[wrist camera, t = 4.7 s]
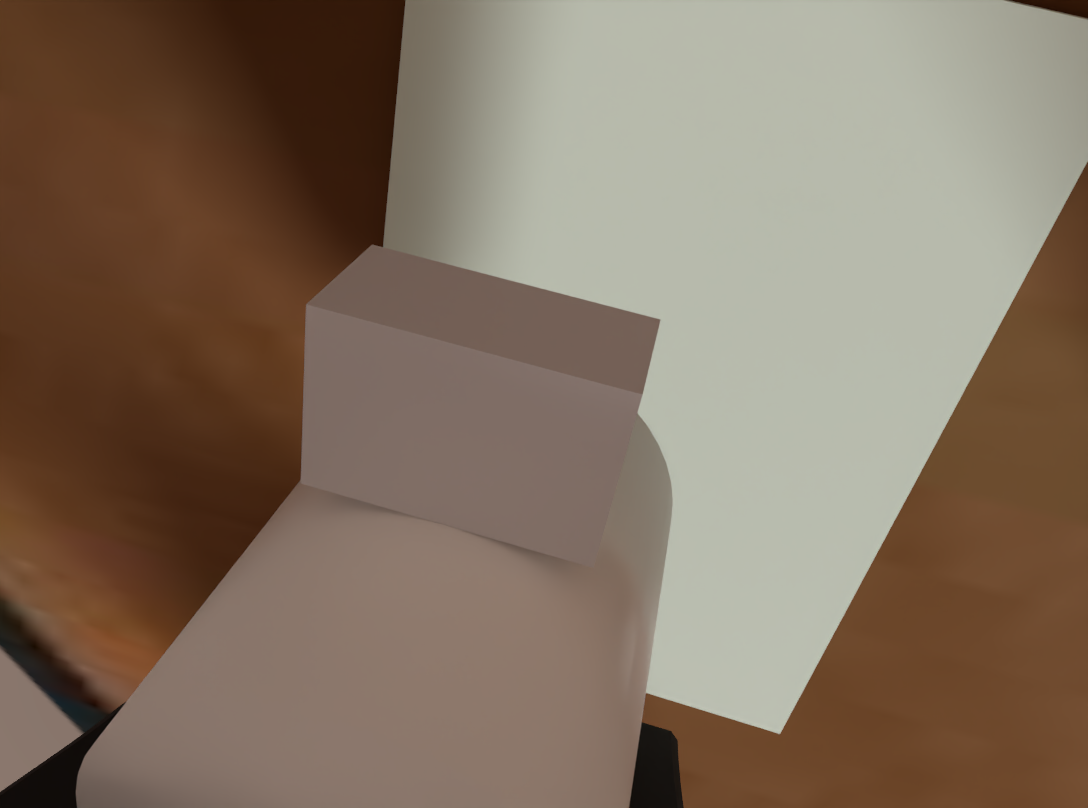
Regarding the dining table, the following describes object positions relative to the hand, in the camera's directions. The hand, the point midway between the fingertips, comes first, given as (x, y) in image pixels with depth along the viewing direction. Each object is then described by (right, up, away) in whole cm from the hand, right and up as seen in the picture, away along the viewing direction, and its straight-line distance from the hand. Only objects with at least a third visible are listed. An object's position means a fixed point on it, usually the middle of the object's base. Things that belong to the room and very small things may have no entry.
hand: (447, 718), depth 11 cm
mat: (+3, +4, +7) cm, 9 cm away
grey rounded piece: (0, +1, +1) cm, 1 cm away
